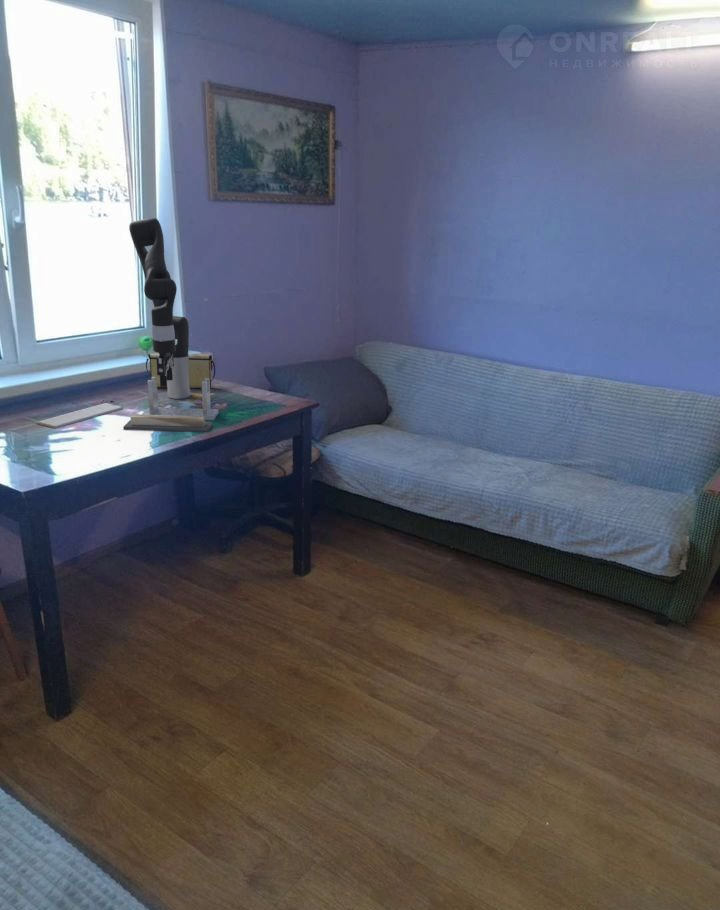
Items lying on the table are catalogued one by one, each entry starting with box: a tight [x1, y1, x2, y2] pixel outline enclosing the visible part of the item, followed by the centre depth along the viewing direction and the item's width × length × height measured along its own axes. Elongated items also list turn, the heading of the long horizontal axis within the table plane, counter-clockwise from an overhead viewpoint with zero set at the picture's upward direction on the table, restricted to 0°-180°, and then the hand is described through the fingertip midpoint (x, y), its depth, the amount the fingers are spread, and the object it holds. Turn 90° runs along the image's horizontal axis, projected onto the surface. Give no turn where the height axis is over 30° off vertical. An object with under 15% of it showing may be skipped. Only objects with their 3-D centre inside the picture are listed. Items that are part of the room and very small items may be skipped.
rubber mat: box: [123, 419, 213, 433], centre depth 253 cm, size 8×30×1 cm, turn 91°
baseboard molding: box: [35, 399, 123, 429], centre depth 263 cm, size 31×3×12 cm
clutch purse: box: [145, 353, 216, 389], centre depth 307 cm, size 30×7×15 cm, turn 94°
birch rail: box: [130, 413, 206, 427], centre depth 253 cm, size 3×26×3 cm, turn 91°
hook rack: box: [140, 377, 219, 421], centre depth 265 cm, size 10×27×14 cm, turn 91°
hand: (166, 383), depth 248 cm, fingers open, 8 cm apart
